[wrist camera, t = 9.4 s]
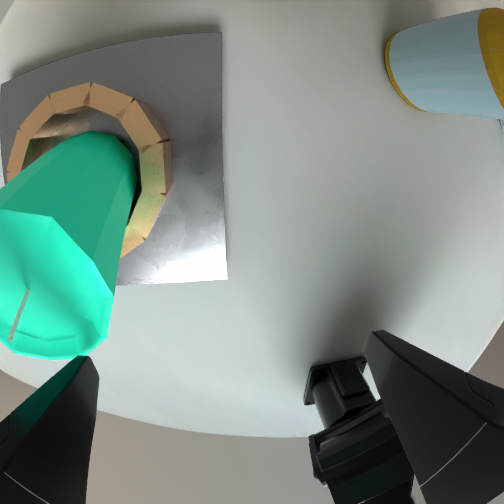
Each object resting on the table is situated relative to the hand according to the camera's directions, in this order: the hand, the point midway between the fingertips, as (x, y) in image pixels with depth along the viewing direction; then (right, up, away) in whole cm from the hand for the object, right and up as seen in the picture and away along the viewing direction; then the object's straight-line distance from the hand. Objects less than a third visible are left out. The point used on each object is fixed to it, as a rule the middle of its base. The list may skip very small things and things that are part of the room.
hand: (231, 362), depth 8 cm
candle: (-9, +8, +7) cm, 14 cm away
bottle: (+13, +18, +8) cm, 24 cm away
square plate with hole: (-9, +9, +8) cm, 15 cm away
